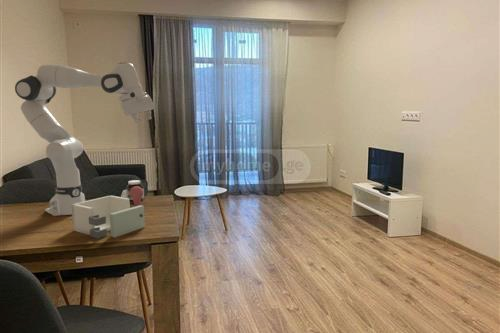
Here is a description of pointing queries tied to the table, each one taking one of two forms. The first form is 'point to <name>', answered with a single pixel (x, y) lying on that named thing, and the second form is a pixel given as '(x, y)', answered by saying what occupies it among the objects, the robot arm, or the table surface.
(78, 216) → the cabinet
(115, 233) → the door
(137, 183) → the spread jar
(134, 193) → the light bulb
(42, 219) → the table surface
